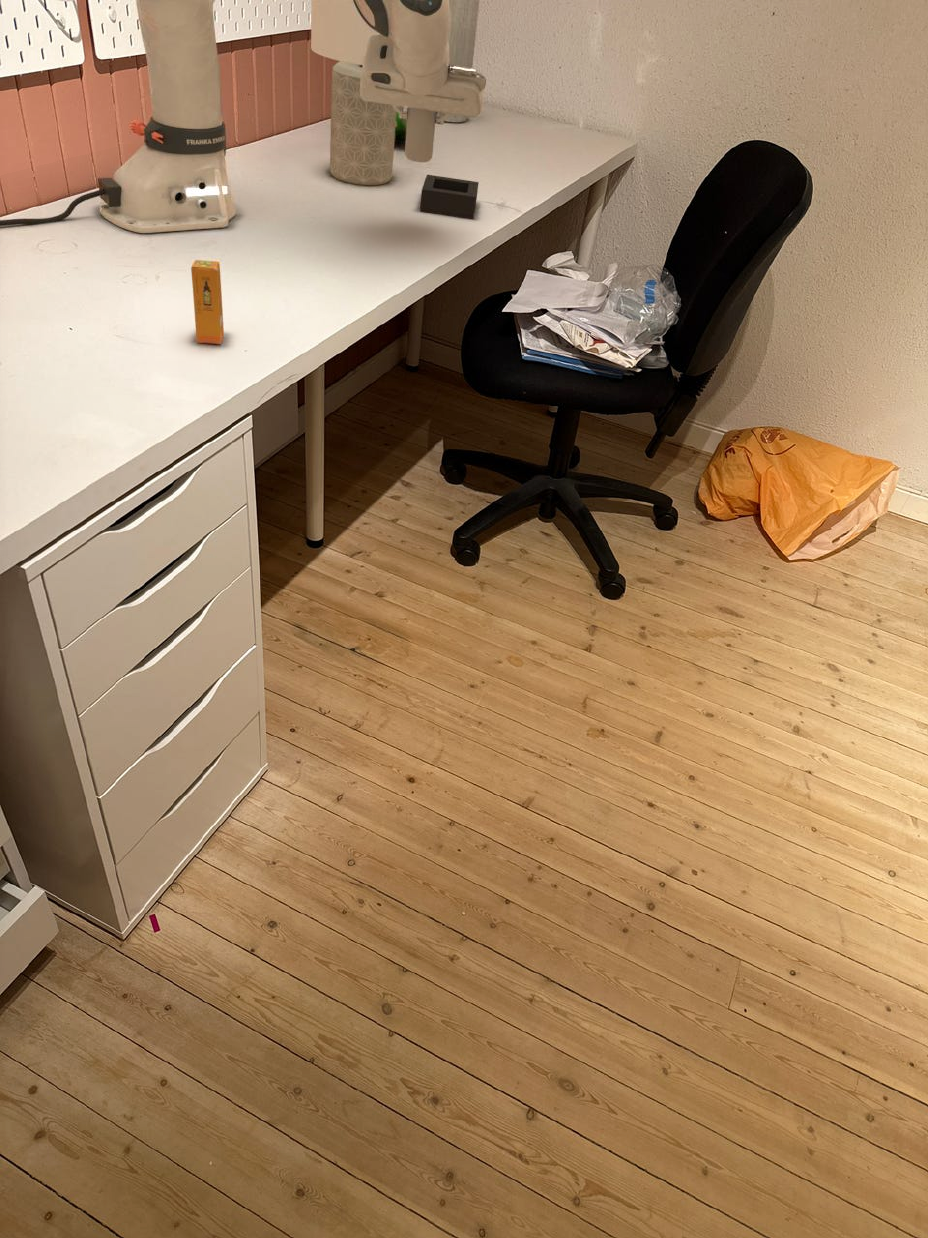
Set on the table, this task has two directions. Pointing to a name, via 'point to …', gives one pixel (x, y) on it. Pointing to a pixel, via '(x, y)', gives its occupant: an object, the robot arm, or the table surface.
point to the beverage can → (420, 134)
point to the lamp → (352, 97)
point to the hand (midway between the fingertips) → (421, 117)
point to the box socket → (449, 196)
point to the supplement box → (207, 301)
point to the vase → (462, 38)
